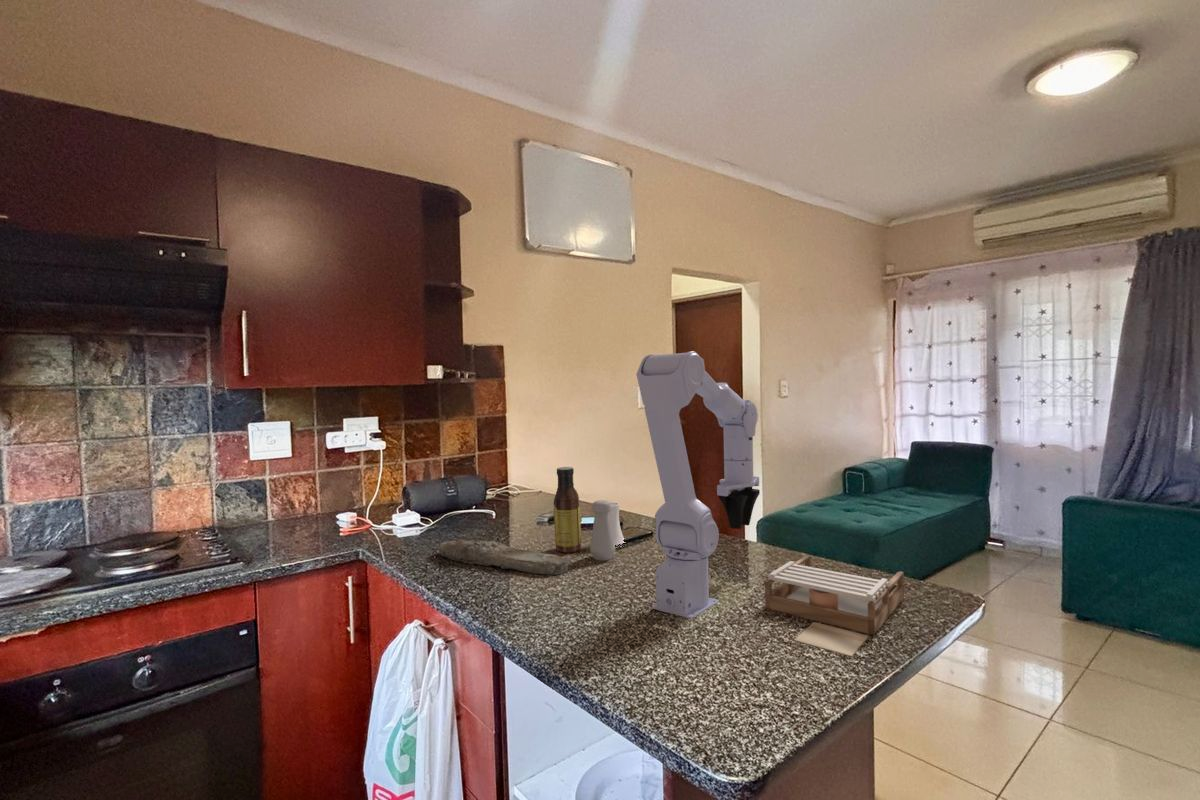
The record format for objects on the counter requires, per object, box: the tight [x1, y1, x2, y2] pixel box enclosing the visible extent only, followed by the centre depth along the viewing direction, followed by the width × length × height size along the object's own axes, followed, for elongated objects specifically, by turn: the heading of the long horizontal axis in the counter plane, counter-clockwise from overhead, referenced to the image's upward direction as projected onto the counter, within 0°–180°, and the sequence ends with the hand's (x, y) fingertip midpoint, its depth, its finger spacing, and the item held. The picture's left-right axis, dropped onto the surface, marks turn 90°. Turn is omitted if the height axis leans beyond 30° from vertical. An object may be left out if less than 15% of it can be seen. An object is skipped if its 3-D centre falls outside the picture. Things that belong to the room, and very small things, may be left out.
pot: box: [809, 588, 838, 610], centre depth 90 cm, size 4×4×4 cm
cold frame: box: [764, 554, 905, 636], centre depth 95 cm, size 19×17×5 cm
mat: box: [794, 621, 869, 658], centre depth 81 cm, size 8×8×1 cm
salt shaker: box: [589, 499, 616, 562], centre depth 125 cm, size 6×6×13 cm
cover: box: [767, 560, 889, 602], centre depth 92 cm, size 9×17×1 cm, turn 49°
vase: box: [609, 502, 626, 549], centre depth 136 cm, size 8×8×10 cm
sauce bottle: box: [553, 466, 582, 554], centre depth 132 cm, size 6×6×20 cm
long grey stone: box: [437, 539, 569, 576], centre depth 123 cm, size 35×5×10 cm
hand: (739, 526), depth 111 cm, fingers open, 3 cm apart
